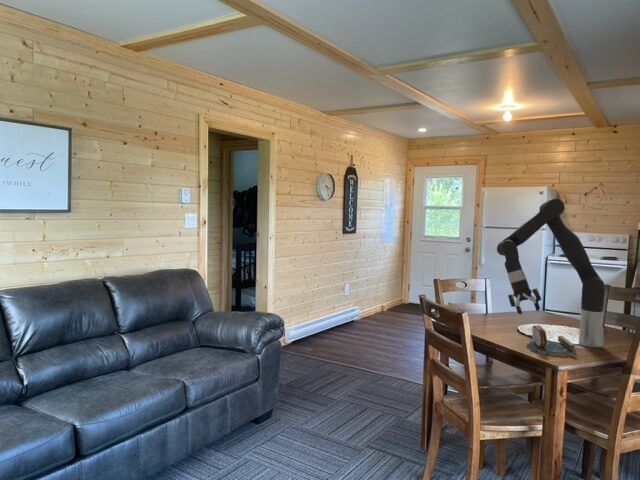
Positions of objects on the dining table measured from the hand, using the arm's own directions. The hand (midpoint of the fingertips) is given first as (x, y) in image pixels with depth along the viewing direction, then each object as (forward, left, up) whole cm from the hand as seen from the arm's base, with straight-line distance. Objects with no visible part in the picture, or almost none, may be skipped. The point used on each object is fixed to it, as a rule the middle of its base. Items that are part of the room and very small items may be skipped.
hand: (529, 312), depth 224 cm
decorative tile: (-8, +8, -16) cm, 20 cm away
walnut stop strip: (-15, +6, -13) cm, 21 cm away
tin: (-3, +7, -14) cm, 16 cm away
